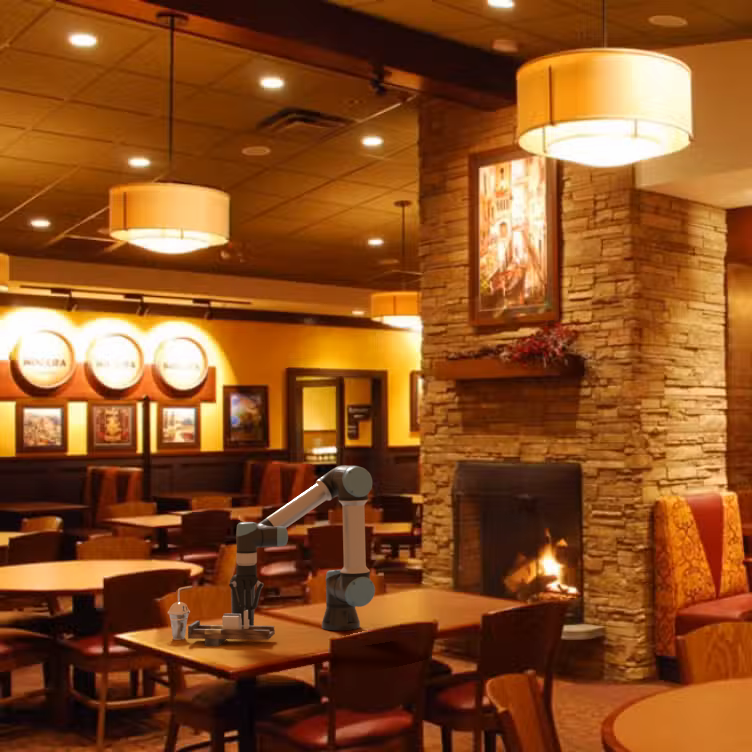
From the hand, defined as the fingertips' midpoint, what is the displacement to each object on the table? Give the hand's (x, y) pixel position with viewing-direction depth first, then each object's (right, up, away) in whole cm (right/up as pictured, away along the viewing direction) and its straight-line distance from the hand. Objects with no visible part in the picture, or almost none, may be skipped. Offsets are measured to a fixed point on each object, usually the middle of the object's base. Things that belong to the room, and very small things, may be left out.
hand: (246, 628), depth 415 cm
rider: (-5, -2, +1) cm, 6 cm away
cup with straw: (-27, -6, +10) cm, 29 cm away
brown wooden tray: (-6, -6, 0) cm, 8 cm away
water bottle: (-5, -7, +27) cm, 29 cm away
